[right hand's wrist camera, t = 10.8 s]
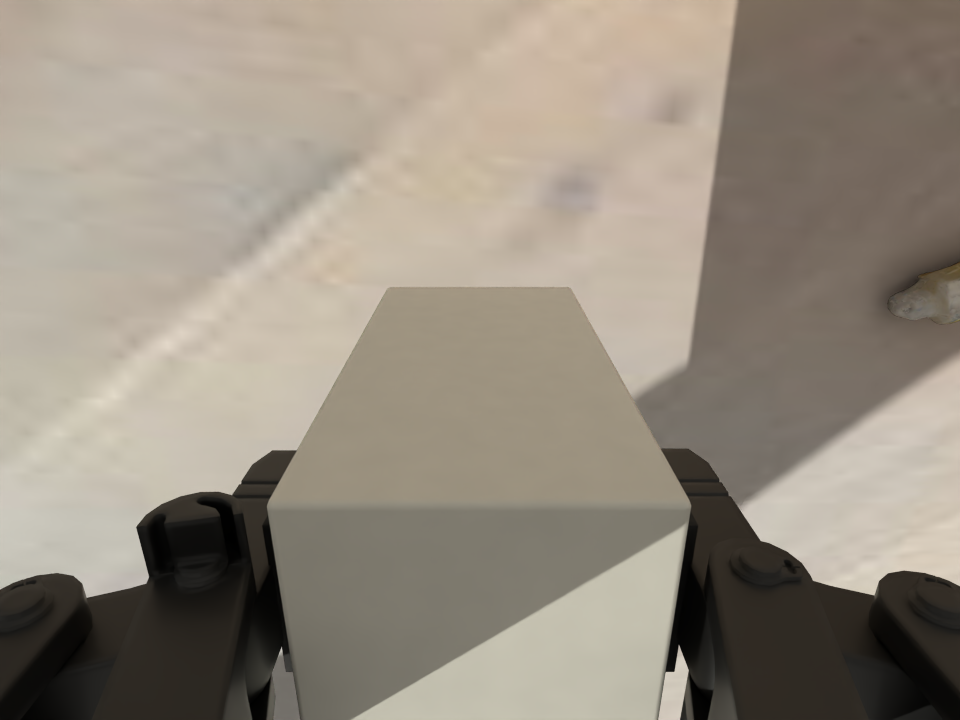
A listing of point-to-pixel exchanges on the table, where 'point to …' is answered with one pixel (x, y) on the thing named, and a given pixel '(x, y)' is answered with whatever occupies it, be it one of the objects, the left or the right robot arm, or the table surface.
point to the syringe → (930, 297)
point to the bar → (479, 521)
